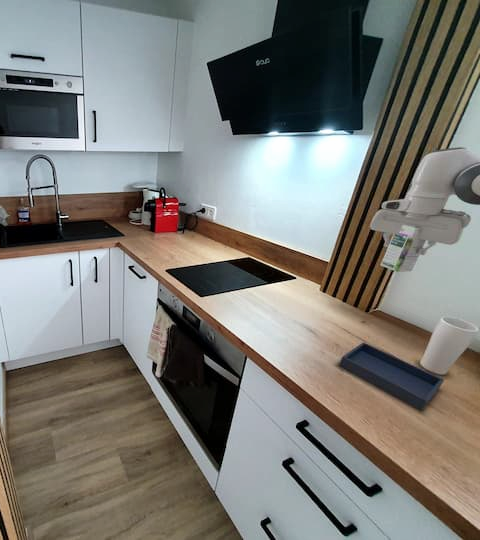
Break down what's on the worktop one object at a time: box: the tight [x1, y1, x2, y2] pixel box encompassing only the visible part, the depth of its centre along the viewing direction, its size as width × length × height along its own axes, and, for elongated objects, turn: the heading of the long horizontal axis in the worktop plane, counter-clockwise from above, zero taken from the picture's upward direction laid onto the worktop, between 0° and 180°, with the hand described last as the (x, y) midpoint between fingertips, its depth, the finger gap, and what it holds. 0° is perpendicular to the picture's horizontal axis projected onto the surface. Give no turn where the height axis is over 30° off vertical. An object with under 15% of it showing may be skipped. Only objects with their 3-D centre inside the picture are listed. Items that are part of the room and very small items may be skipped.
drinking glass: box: [420, 316, 479, 375], centre depth 76 cm, size 7×7×15 cm
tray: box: [338, 341, 445, 412], centre depth 75 cm, size 17×13×3 cm
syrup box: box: [380, 225, 427, 273], centre depth 90 cm, size 6×6×14 cm
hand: (403, 250), depth 90 cm, fingers closed on syrup box, 7 cm apart
